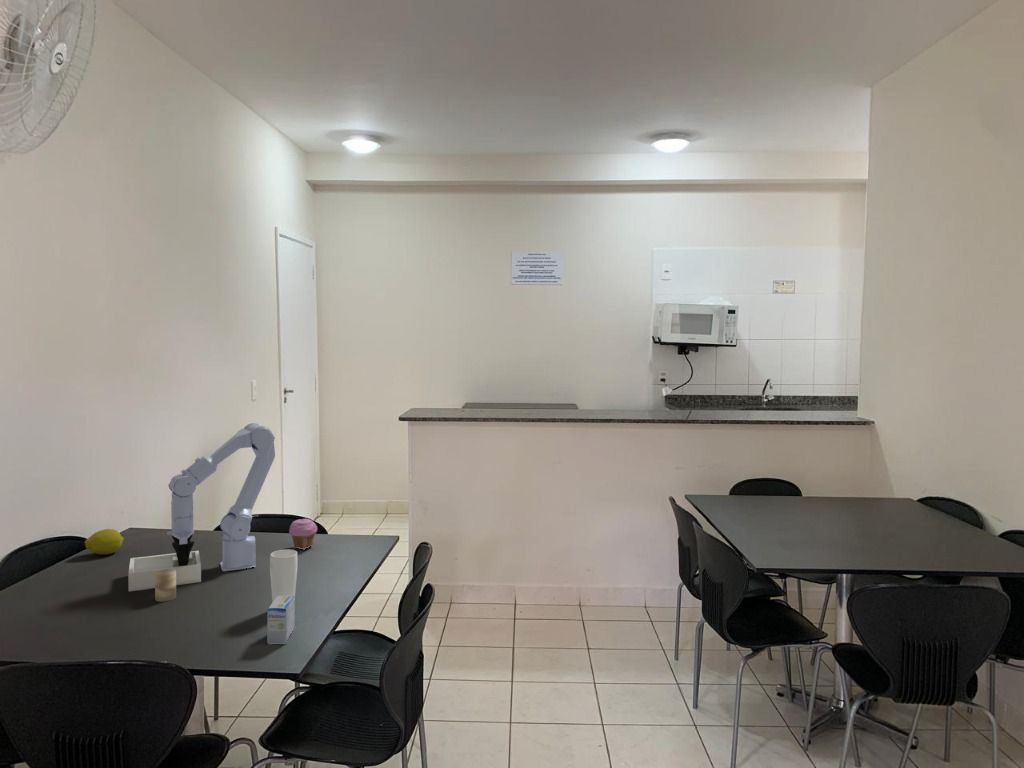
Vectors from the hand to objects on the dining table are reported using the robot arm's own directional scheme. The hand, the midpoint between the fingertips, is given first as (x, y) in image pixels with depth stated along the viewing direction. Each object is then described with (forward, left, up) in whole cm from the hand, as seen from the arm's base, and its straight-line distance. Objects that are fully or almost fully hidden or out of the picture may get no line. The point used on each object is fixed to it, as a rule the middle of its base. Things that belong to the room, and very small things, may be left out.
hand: (183, 561), depth 194 cm
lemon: (+22, -31, -5) cm, 38 cm away
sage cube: (0, 0, -4) cm, 4 cm away
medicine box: (-19, +53, -5) cm, 57 cm away
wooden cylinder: (+5, +16, -4) cm, 17 cm away
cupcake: (-36, -13, -5) cm, 39 cm away
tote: (+5, 0, -4) cm, 6 cm away
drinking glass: (-22, +37, -5) cm, 43 cm away
